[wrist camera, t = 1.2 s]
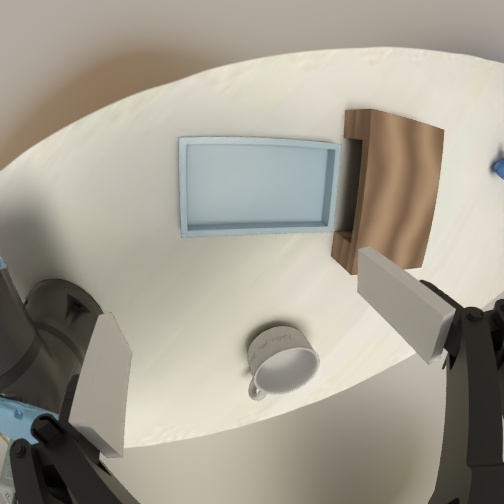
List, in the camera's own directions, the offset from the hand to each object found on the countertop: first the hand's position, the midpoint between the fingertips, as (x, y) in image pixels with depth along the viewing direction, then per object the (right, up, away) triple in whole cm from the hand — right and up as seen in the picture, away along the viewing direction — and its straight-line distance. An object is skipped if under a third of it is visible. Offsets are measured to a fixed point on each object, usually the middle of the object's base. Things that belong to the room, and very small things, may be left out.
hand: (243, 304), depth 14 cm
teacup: (+3, -14, +35) cm, 38 cm away
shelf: (+20, +12, +27) cm, 35 cm away
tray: (+1, +12, +23) cm, 26 cm away
